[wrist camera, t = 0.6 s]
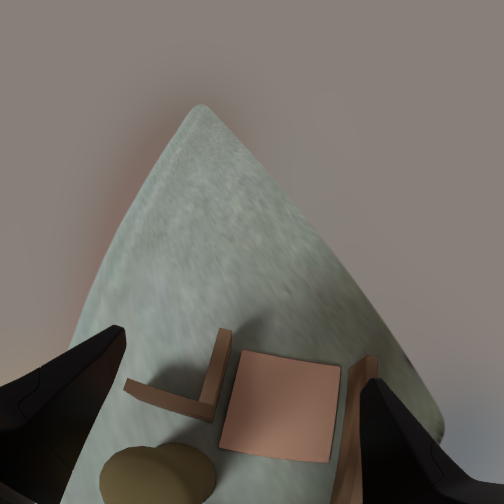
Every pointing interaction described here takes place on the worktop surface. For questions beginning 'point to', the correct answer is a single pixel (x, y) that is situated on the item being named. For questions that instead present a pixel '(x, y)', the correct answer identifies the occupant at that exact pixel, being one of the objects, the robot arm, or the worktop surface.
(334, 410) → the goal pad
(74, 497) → the worktop surface
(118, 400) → the worktop surface
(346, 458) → the bent channel
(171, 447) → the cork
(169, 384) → the worktop surface
